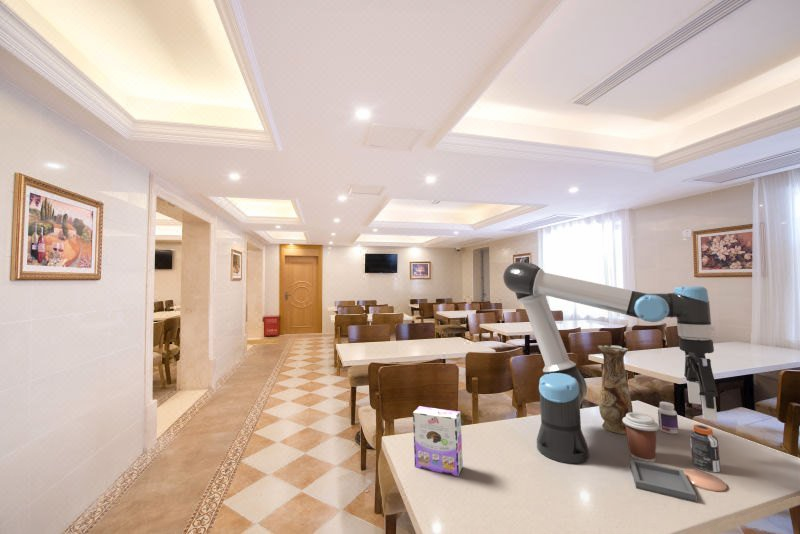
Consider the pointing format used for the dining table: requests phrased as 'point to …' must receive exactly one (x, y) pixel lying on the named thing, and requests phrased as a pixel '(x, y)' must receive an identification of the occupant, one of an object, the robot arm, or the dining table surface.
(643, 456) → the coffee cup
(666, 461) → the dining table surface
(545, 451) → the robot arm
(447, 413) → the candy box
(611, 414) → the vase
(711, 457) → the pill bottle
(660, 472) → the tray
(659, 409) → the pill bottle
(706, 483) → the peach flat disc
